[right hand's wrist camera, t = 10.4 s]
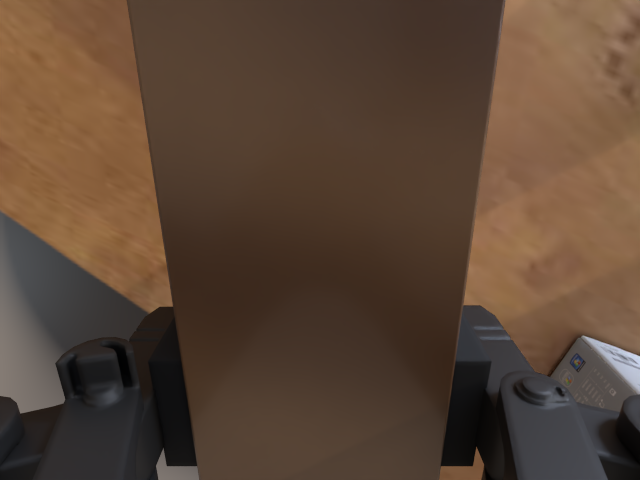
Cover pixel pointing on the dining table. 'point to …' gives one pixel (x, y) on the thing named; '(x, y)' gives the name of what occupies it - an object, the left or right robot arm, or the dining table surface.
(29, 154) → the dining table surface
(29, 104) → the dining table surface
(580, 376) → the hard drive box
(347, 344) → the bar
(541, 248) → the dining table surface
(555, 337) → the dining table surface
